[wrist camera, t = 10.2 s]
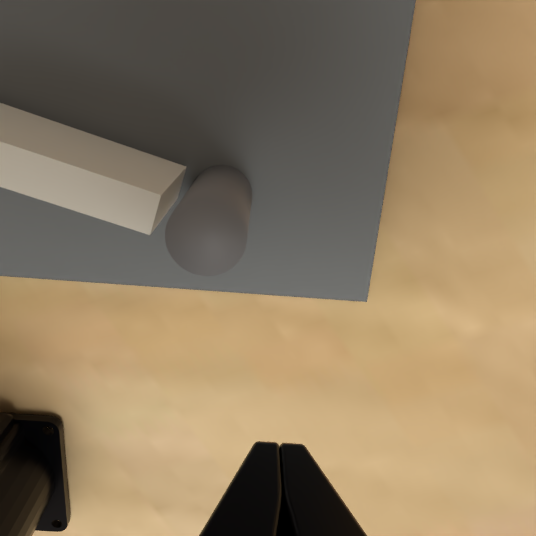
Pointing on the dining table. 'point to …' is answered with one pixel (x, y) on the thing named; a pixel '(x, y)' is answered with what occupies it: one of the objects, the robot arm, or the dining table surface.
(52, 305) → the dining table surface
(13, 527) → the robot arm
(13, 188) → the gate
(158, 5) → the plate with peg
